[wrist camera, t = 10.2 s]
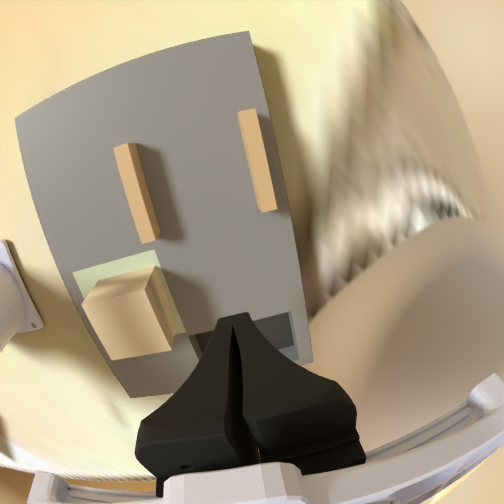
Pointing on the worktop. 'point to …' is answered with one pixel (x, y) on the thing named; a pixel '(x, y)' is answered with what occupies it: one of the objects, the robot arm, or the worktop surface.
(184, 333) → the board
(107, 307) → the birch block
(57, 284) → the worktop surface
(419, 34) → the worktop surface
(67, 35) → the worktop surface
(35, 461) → the worktop surface
